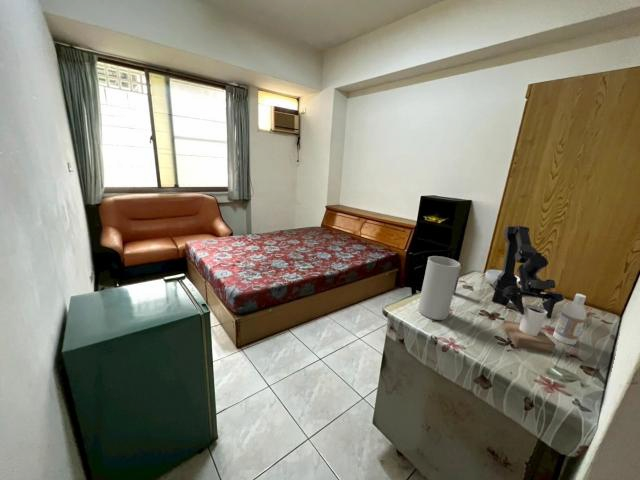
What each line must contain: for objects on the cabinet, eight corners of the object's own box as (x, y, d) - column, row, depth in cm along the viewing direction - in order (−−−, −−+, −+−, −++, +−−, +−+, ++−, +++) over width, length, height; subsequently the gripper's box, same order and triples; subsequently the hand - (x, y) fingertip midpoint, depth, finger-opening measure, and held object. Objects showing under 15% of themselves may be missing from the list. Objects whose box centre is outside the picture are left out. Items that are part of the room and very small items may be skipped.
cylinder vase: (434, 304, 126) (444, 255, 119) (454, 318, 114) (467, 266, 107) (412, 306, 122) (422, 256, 115) (430, 322, 110) (442, 267, 103)
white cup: (542, 334, 100) (551, 312, 98) (532, 338, 98) (540, 314, 95) (524, 324, 106) (531, 303, 103) (514, 327, 104) (521, 305, 101)
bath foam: (566, 346, 101) (585, 300, 96) (548, 334, 108) (564, 291, 102) (580, 344, 103) (598, 299, 97) (560, 333, 109) (577, 290, 104)
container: (456, 292, 140) (462, 266, 136) (453, 295, 136) (459, 269, 132) (447, 289, 143) (452, 264, 139) (444, 292, 139) (450, 266, 135)
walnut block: (501, 328, 110) (504, 320, 109) (533, 333, 108) (536, 325, 107) (516, 347, 98) (519, 337, 97) (552, 353, 96) (555, 344, 95)
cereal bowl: (479, 278, 163) (482, 267, 161) (509, 282, 159) (512, 272, 157) (488, 289, 147) (492, 278, 145) (522, 295, 143) (526, 283, 141)
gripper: (514, 266, 100) (521, 306, 93) (569, 274, 97) (581, 315, 90) (499, 277, 110) (504, 314, 103) (549, 284, 107) (558, 322, 100)
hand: (536, 316), depth 99 cm, fingers open, 9 cm apart
